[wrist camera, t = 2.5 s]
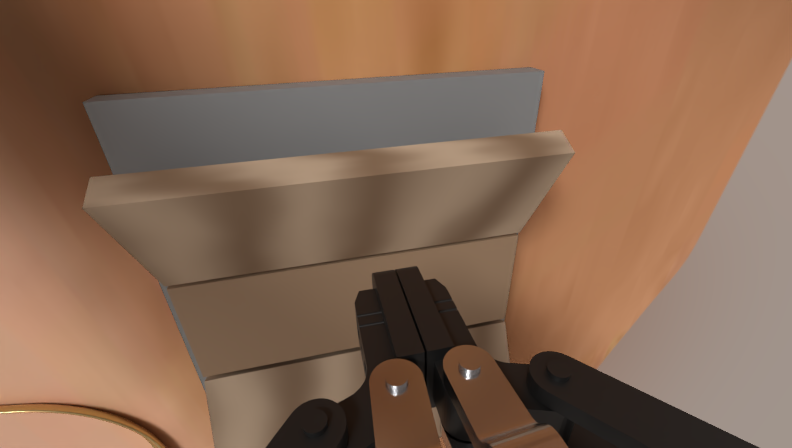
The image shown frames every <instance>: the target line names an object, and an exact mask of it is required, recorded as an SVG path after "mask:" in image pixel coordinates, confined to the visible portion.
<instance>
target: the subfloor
mask: <svg viewBox="0 0 792 448" xmlns="http://www.w3.org/2000/svg"><path fill="white" fill-rule="evenodd" d="M543 77H544V71H543V70H539V69H535V68H532V67H528V68H512V69H497V70H482V71H467V72H451V73H436V74H421V75H405V76H390V77H375V78H359V79H344V80H329V81H313V82H298V83H283V84H267V85H252V86H237V87H221V88H206V89H191V90H175V91H160V92H145V93H129V94H114V95H99V96H94V97H92V98H90V99H88V100H86V101H84V102H83V105H84V107H85V109H86V112H87V114H88V116H89V119H90V121H91V124H92V126H93V128H94V131H95V133H96V135H97V138H98V140H99V142H100V145H101V147H102V149H103V152H104V154H105V157H106V159H107V161H108V164H109V166H110V168H111V171H112V173H113V175H117V174H127V173H137V172H147V171H157V170H167V169H177V168H187V167H197V166H207V165H217V164H227V163H237V162H247V161H257V160H267V159H277V158H287V157H297V156H307V155H317V154H327V153H337V152H347V151H357V150H367V149H377V148H387V147H397V146H407V145H417V144H427V143H437V142H447V141H457V140H467V139H477V138H487V137H496V136H506V135H516V134H526V133H535V126H536V120H537V114H538V108H539V102H540V95H541V89H542V83H543ZM517 241H518V233H513V234H507V235H500V236H494V237H487V238H481V239H474V240H467V241H461V242H454V243H448V244H441V245H435V246H428V247H421V248H415V249H408V250H402V251H395V252H389V253H382V254H375V255H369V256H362V257H356V258H349V259H343V260H336V261H329V262H323V263H316V264H310V265H303V266H297V267H290V268H283V269H277V270H270V271H264V272H257V273H251V274H244V275H237V276H231V277H224V278H218V279H211V280H205V281H198V282H191V283H185V284H178V285H172V286H163V285H162V284H161V283H160V282H159V284H160V286H161V289H162V291H163V293H164V296H165V298H166V300H167V303H168V305H169V307H170V310H171V312H172V314H173V317H174V319H175V322H176V324H177V326H178V329H179V331H180V333H181V336H182V338H183V340H184V343H185V345H186V347H187V350H188V352H189V355H190V357H191V359H192V362H193V364H194V366H195V369H196V371H197V373H198V376H199V378H200V380H201V383H202V385H203V388H204V390H205V383H204V381H205V380H206V378H207V377H208V376H213V375H218V374H223V373H228V372H233V371H238V370H243V369H249V368H254V367H259V366H264V365H269V364H274V363H279V362H284V361H289V360H294V359H300V358H305V357H310V356H315V355H320V354H325V353H330V352H335V351H340V350H346V349H351V348H356V347H360V345H359V339H358V331H357V322H356V313H355V300H356V298H357V295H358V292H359V291H362V290H368V289H373V287H372V273H375V272H382V271H388V270H394V271H395V269H400V268H406V267H413V266H417V267H418V268H419V271H420V273H421V275H422V277H423V279H424V280H429V279H436V280H437V281H439V282H440V283H441V284H442V285H444V286H445V287H446V288H447V290H448V292H449V294H450V296H451V298H452V301H453V302H454V303H455V305H456V307H457V310H458V311H459V313H460V315H461V317H462V319H463V320H464V322H465V324H466V326H468V325H473V324H478V323H483V322H488V321H494V320H499V319H501V320H503V321H504V318H505V315H506V309H507V302H508V296H509V290H510V284H511V278H512V272H513V265H514V259H515V253H516V247H517ZM205 392H206V390H205Z"/></svg>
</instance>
